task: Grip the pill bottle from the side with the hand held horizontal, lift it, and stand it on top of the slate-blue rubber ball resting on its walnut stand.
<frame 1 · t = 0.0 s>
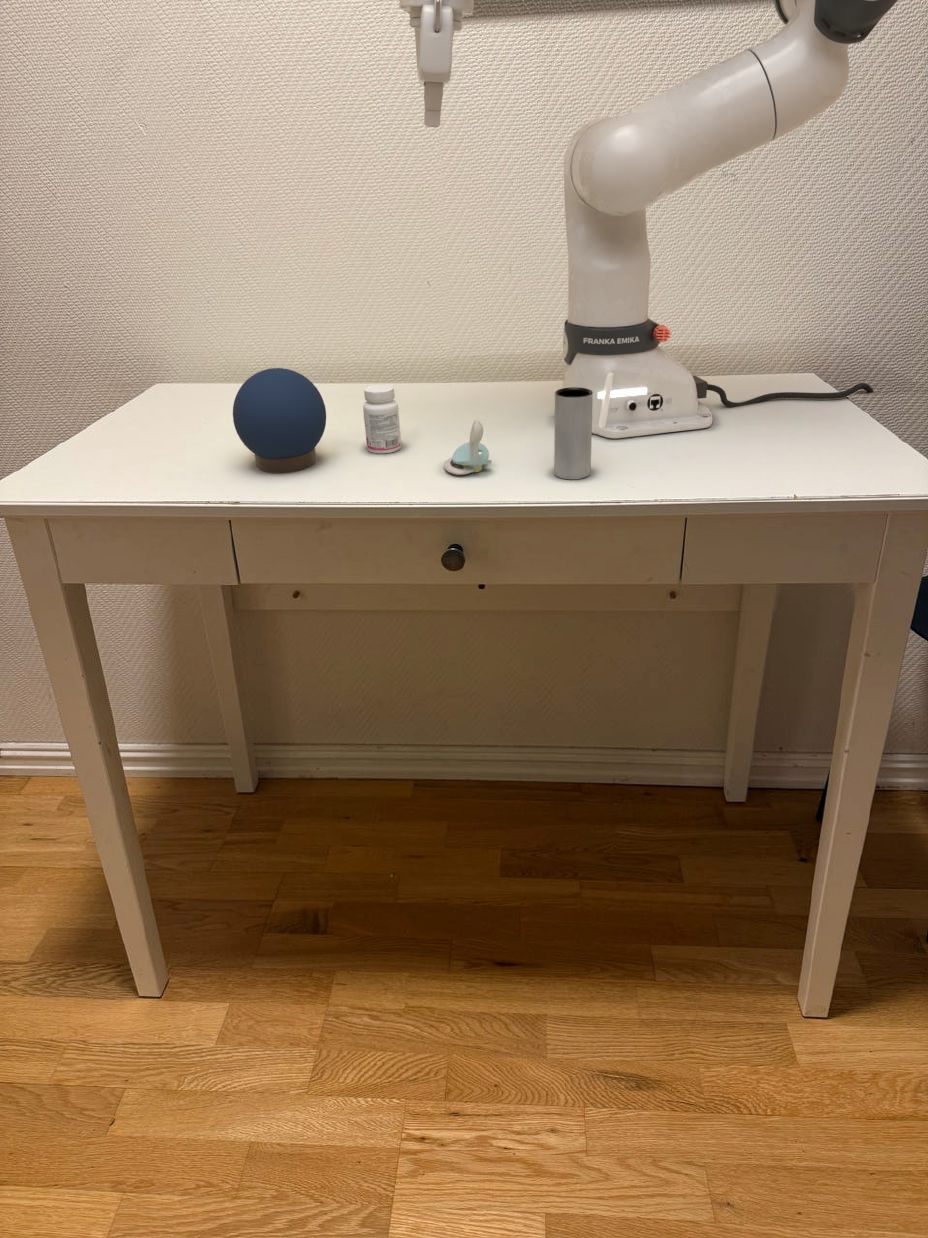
hand: (431, 126, 115), 39 cm above the table, tool pointing down, fingers open, 8 cm apart
pacifier: (467, 469, 118), on the table
grey cylinder: (572, 475, 114), on the table
pill bottle: (384, 450, 126), on the table
ball: (286, 463, 122), resting on ball stand
ball stand: (286, 463, 122), on the table
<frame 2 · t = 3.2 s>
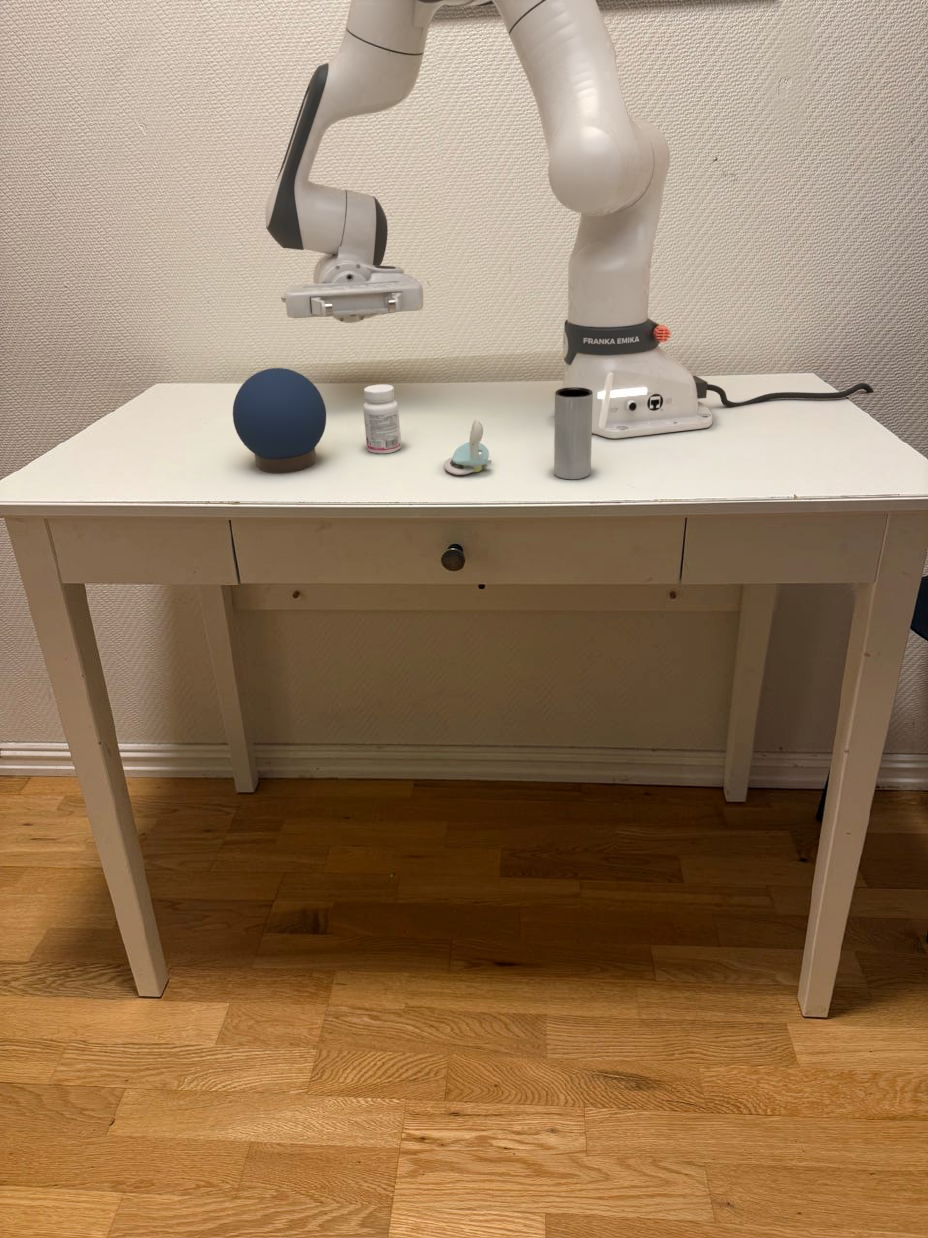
hand: (361, 308, 128), 17 cm above the table, tool horizontal, fingers open, 8 cm apart
nothing on the table moved.
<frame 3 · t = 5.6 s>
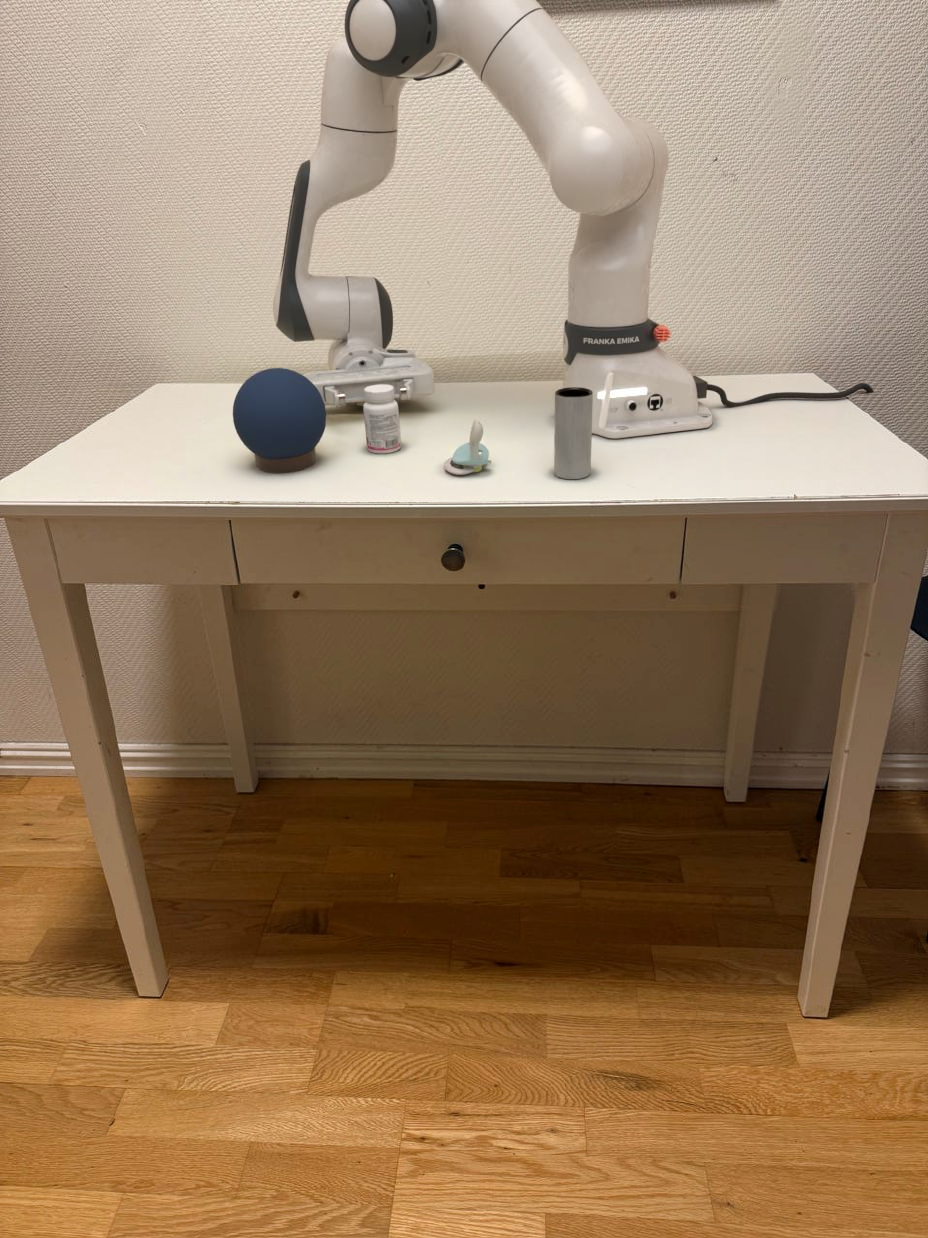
hand: (373, 397, 131), 5 cm above the table, tool horizontal, fingers open, 8 cm apart
nothing on the table moved.
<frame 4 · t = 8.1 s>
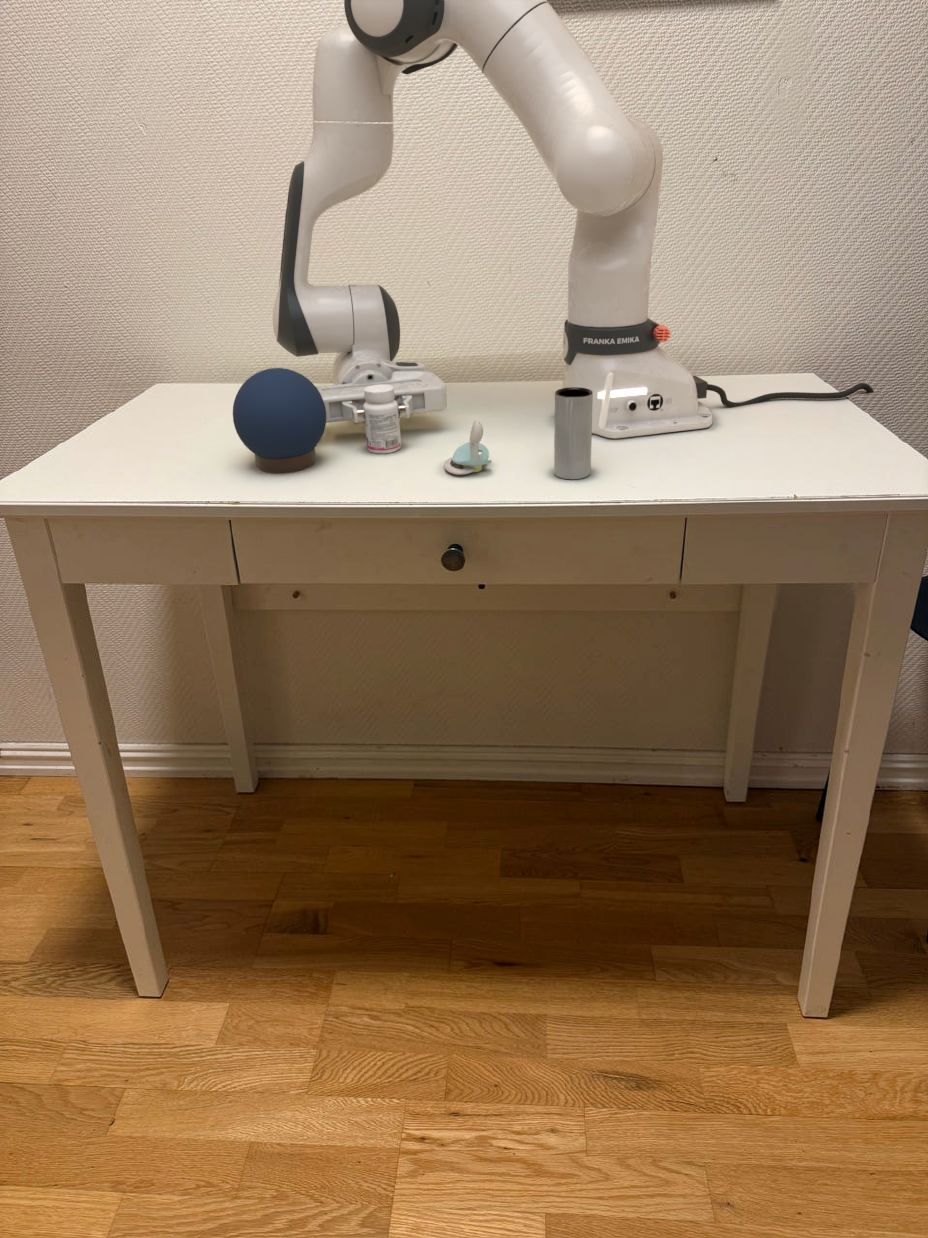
hand: (382, 414, 123), 5 cm above the table, tool horizontal, fingers closed on pill bottle, 5 cm apart
pill bottle: (384, 450, 126), on the table, touching gripper
everything else where it was.
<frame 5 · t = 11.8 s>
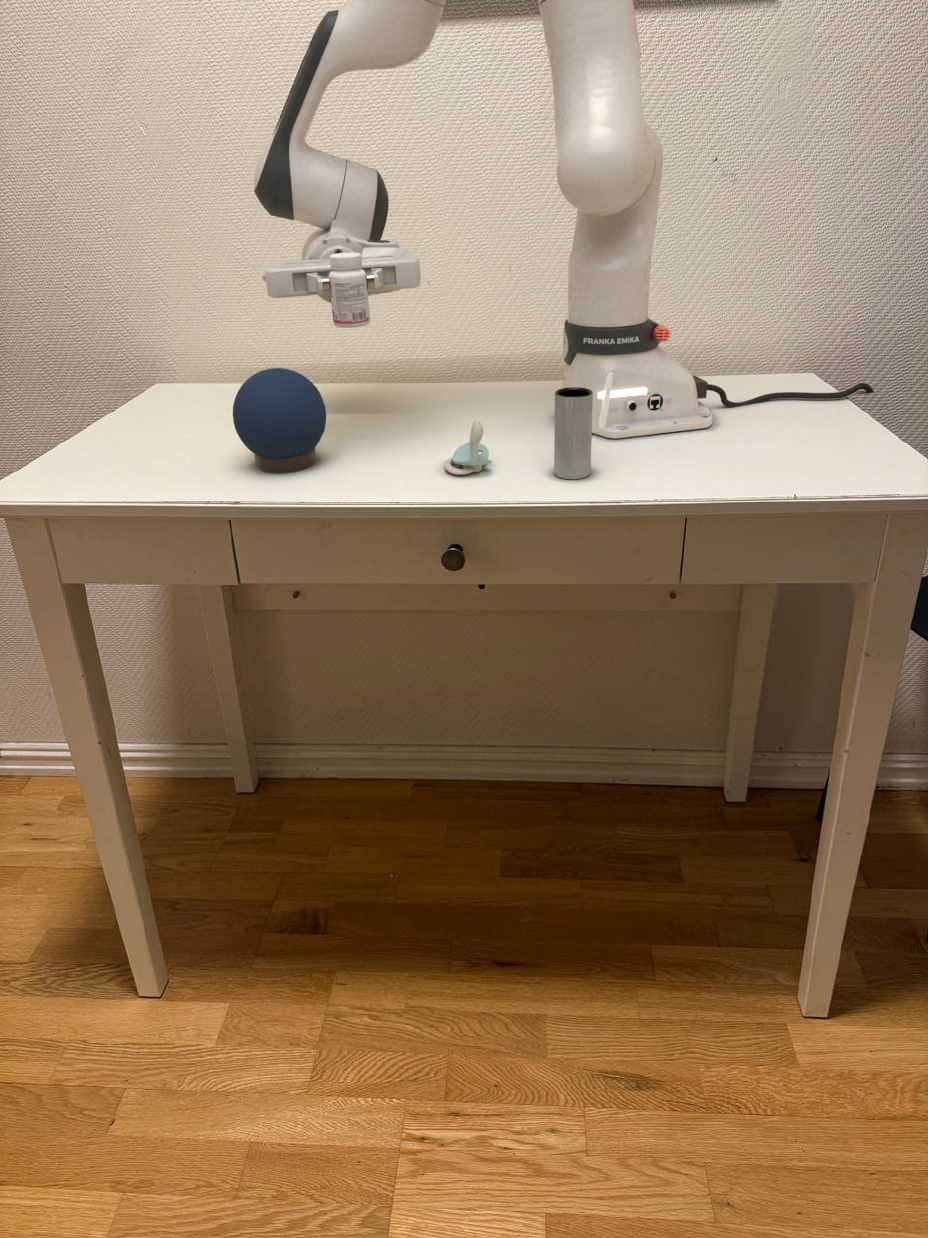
hand: (349, 284, 114), 22 cm above the table, tool horizontal, fingers closed on pill bottle, 5 cm apart
pill bottle: (352, 325, 117), point 17 cm above the table, touching gripper
everything else where it was.
when the fingers open (18 cm above the table, at t = 15.6 s): pill bottle stays where it is, resting on ball.
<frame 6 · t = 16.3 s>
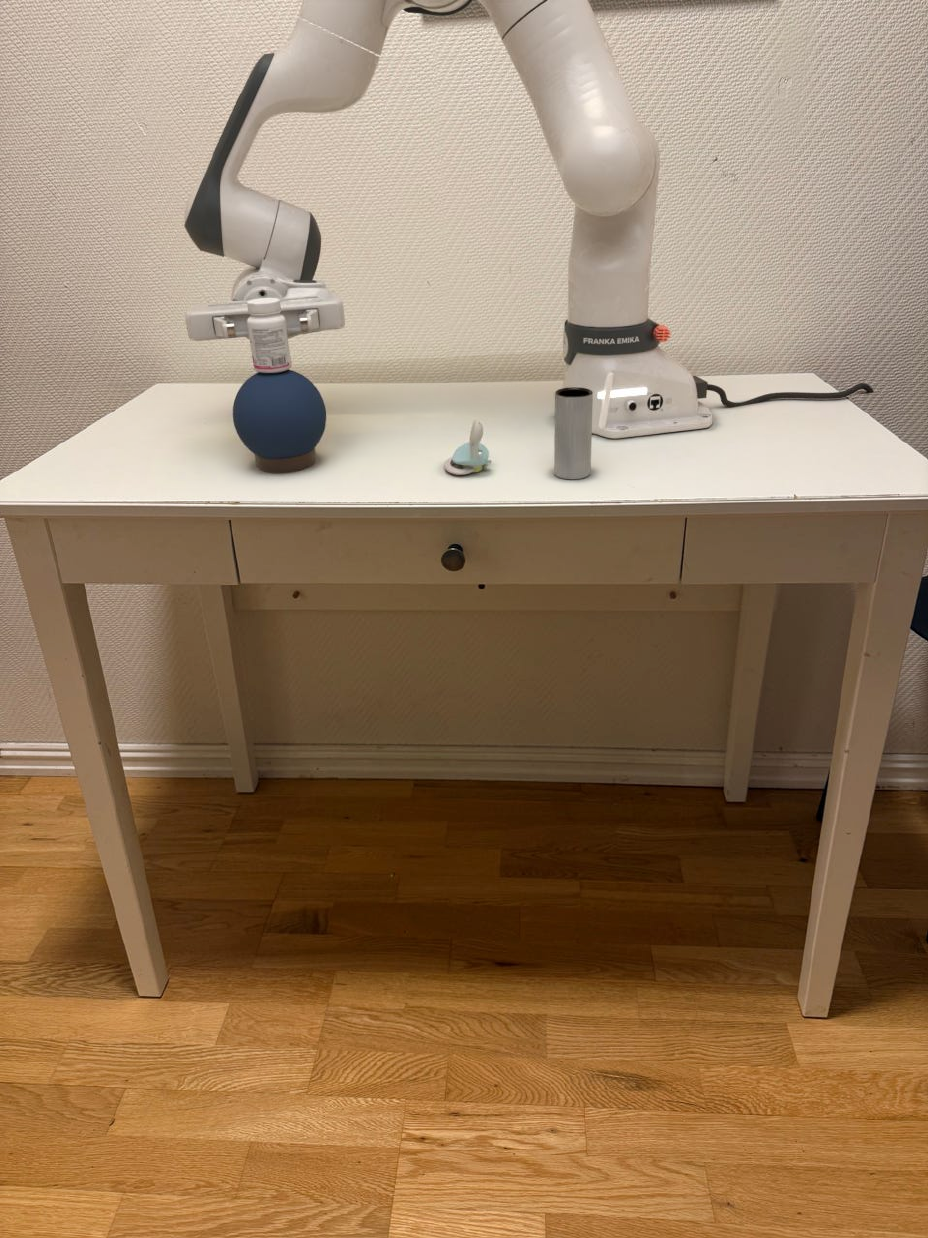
hand: (268, 328, 113), 18 cm above the table, tool horizontal, fingers open, 8 cm apart
pill bottle: (273, 370, 116), point 12 cm above the table, touching ball
everything else where it was.
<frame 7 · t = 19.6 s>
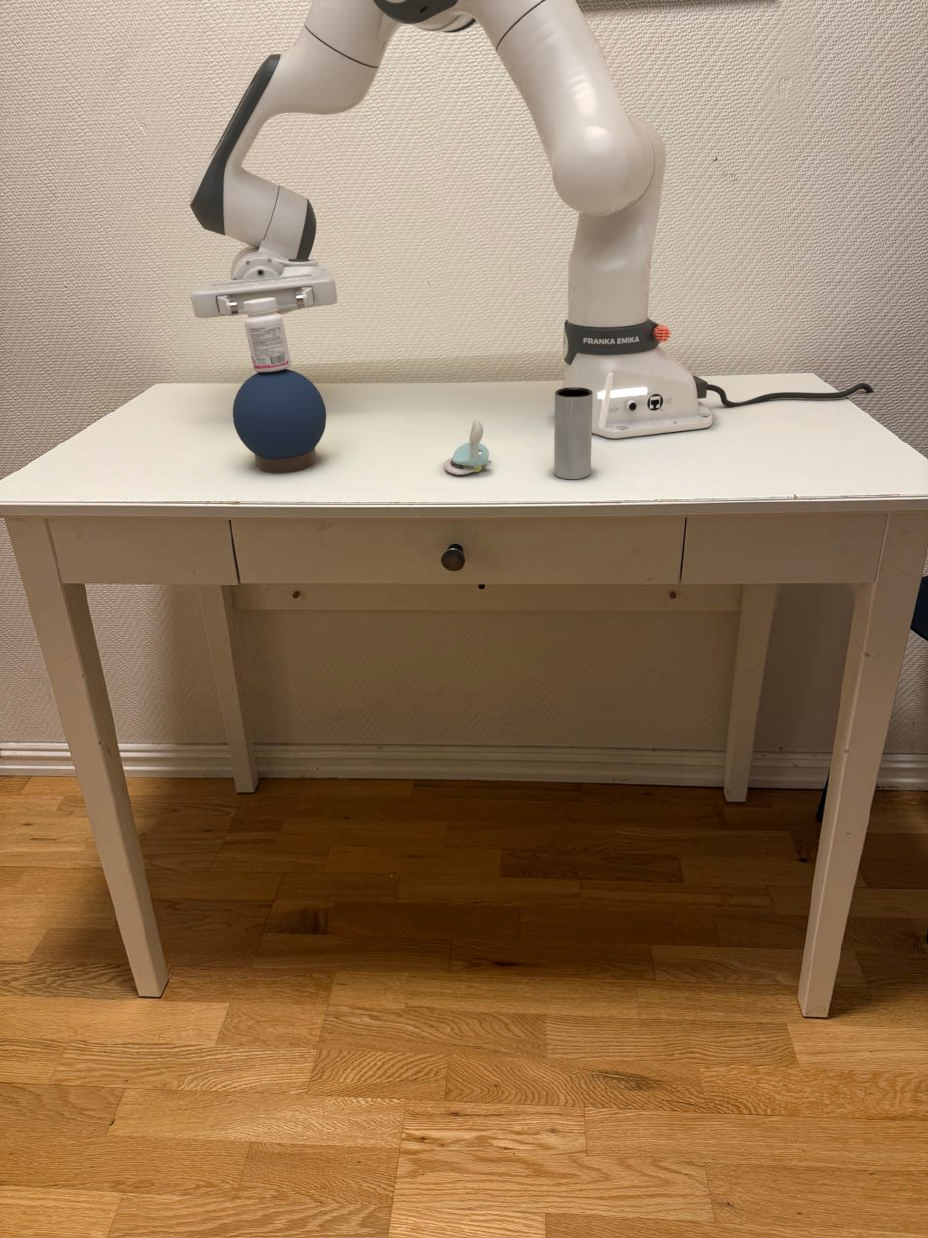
hand: (267, 305, 124), 18 cm above the table, tool horizontal, fingers open, 8 cm apart
nothing on the table moved.
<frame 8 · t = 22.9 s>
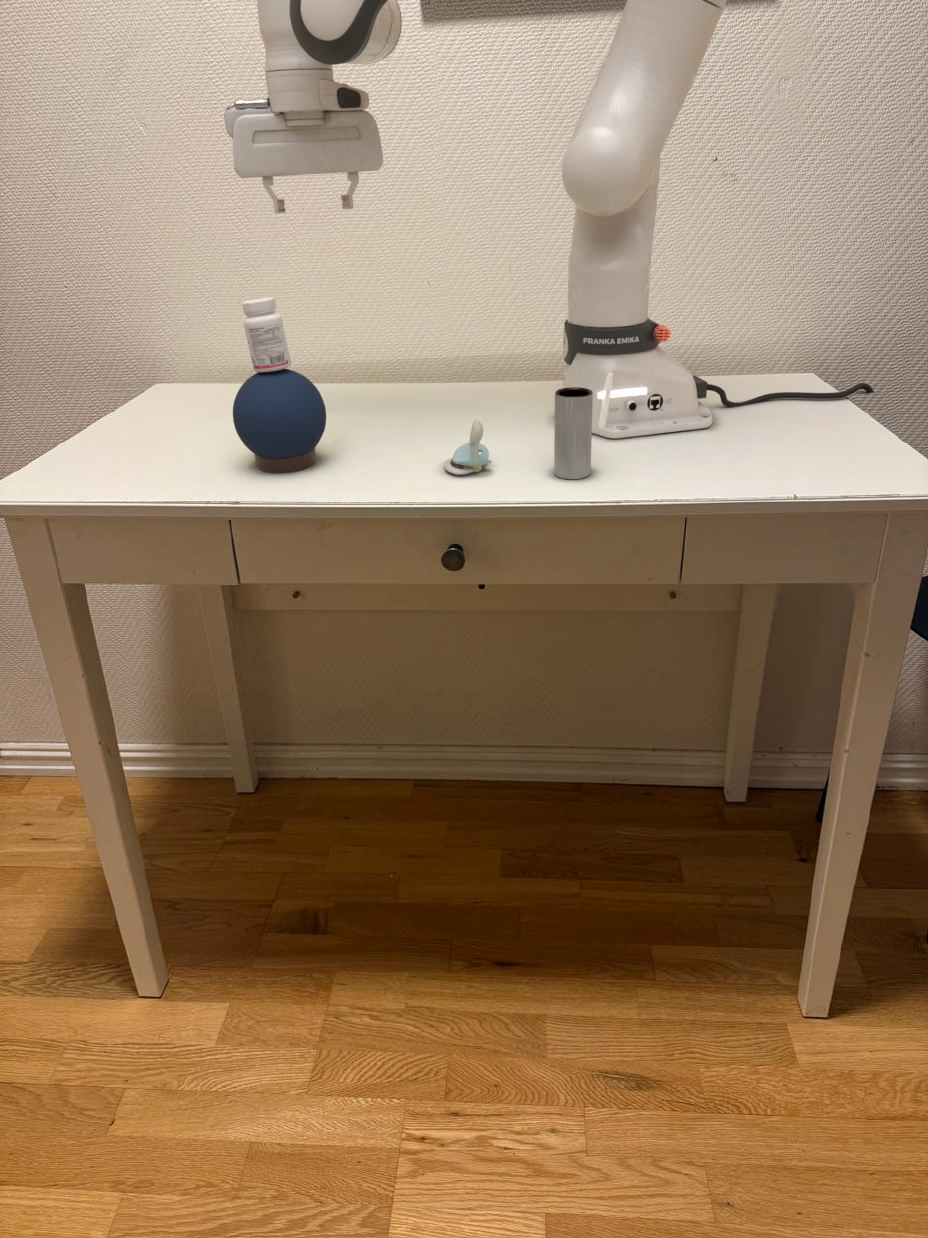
hand: (314, 210, 128), 29 cm above the table, tool pointing down, fingers open, 8 cm apart
nothing on the table moved.
at the end: pill bottle 0.1 cm off-centre on the ball, point 12.3 cm above the ball's base; pill bottle tilted 6°; the gripper is holding nothing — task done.
